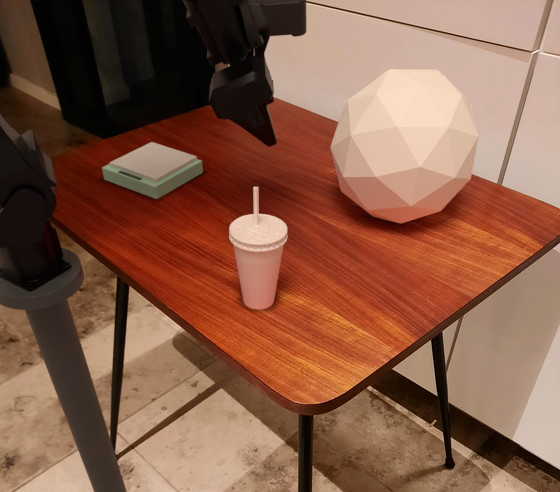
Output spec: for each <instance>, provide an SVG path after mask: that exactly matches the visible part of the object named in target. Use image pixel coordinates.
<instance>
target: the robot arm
mask: <svg viewBox="0 0 560 492" xmlns="http://www.w3.org/2000/svg"><path fill="white" fill-rule="evenodd" d="M182 2H183V3H184V6H185V7H186V9H187V11H186V21H187V23H188V25H189V26H190V28H191V29H193V28H196V29H197V31H198V33H199V35H200V37H201V40H202V42H203V44H204V45H205V48H206V49H207V50H206V60H207V62H208V64H209V65H210V67H211V68H213V67H215V66H217V65H219V64H221V63H222V65H225V66H226V67H223V68H222V69H220V70H218V71H216V72H214V73H213V74H212V77H211V81H210V83H209V94H208V104H209V105H210V107H211V109H212V111H213V113H214V114H215V116H216V118H217V119H219V120H226V121H227V120H229V121H231V122H232V123H234V124H235V125H237V126H238V127H240V128H242V129H243V130H245V131H246V132H247V133H248V134H250V135H251V136H253V137H254V138H256V139H257V140H258V141H260V142H261V143H262V144H263V145H265V146H267V147H272V146H275V145H277V143H278V141H277V136H276V132H275V127H274V124H273V120H272V117H271V112H270V109H269V105H270V104H273V103H274V102H275V99H274V94H275V90H274V88H275V87H274V80H273V78H272V75H271V71H270V69H269V67H268V64H267V60H266V55H265V53H266V50H267V47H268V44H269V41H270V39H271V37H277V36H278V37H280V36H292V37H296V38H297V37H302V36H304V35H305V34H307V0H182ZM227 65H228V66H227ZM55 175H56V174H55V171H54V165H53V161H52V158H50V157H49V156H48V155H47V154H45V153H44V151H43V149H42V148H41V147H40V145H39V142H38V140H37V138H36V135H35V133H34V130H33V129H31V128H30V129H28V130H26V131H25V132H23V133H22V134H20V133H19V132H17V131H16V130H15V129H14V128H13V127H12V126H11V125H10V124H9V123H8V122H7V121H6V120H5V118H4V117H3V116H2V114H1V113H0V277H1V278H3V279H5V280H7V281H9V282H11V283H13V284H14V285H16V286H18V287H20V288H22V289H24V290H26V291H28V292H31V291H34V290H36V289H37V288H39V287H41V286H42V285H44V284H46V283H47V282H49V281H50V280H52V279H54V278H55V277H57V276H59V275H60V274H62V273H64V272H65V271H67V270H69V269H70V268H71V267H72V266H71V263H70V262H68V261H65V260H63V259H62V258H63V252H62V248H63V247H62V245H61V242H60V238H59V234H58V232H57V228H56V227H55V226H53V225H52V222H51V219H50V218H51V217H52V215H53V214H54V213H55V210H56V207H57V204H58V203H57V202H58V201H57V196H56V191H55V188H56V187H57V180H56V179H57V178H56V176H55Z"/></svg>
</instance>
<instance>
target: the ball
mask: <svg viewBox="0 0 560 492" xmlns="http://www.w3.org/2000/svg"><path fill="white" fill-rule="evenodd" d="M478 140H479V133H478V129H477V124H476V119H475V114H474V110H473V105H472V101H471V100H469V98H468V97H466V95H464V94H463V93H462V91H461V90H460V89H458V88H457V86H456V85H454V83H452V82H451V80H449V79H448V78H447V77H446V76H445V75H444V74H443V73H442V72H441V71H440V70H439V69H412V68H411V69H407V68H405V69H404V68H389V69H388V70H386V71H385V72H384V73H382V74H381V75H380V76H378V77H377V78H375V79H374V80H373V81H372V82H370V83H369V84H367V85H366V86H364V87H363V88H362V89H361V90H360V91H358V92H357V93H355V94H354V95H352V96H351V97H350V98H349V99H348V100H347V102H346V103H345V106H344V108H343V110H342V112H341V115H340V117H339V119H338V122H337V124H336V128H335V132H334V134H333V136H332V141H331V144H330V152H331V157H332V161H333V164H334V168H335V173H336V178H337V181H338V186H339V189H340V192H341V193H342V194H344V196H346V197H347V198H349V199H350V200H351V201H353V202H354V203H355V204H356V205H357V206H358V207H360V208H361V209H363V210H364V211H365V212H366V213H368V214H369V215H370V216H372V217H373V218H376V219H380V220H384V221H389V222H393V223H397V224H404V223H407V222H410V221H413V220H418V219H420V218H423V217H427V216H429V215H432V214H435V213H440V212H441V211H442V210H444V209H445V207H446V206H447V205H448V204H449V203H450V202H451V200H452V199H454V198H455V197H456V195H457V194H458V193H459V192H460V191H461V190H462V189H463V188H464V187H465V186H466V184H468V183H469V182H470V180H471V179H472V173H473V168H474V164H475V163H474V162H475V157H476V153H477V147H478Z"/></svg>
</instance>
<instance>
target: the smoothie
mask: <svg viewBox="0 0 560 492" xmlns="http://www.w3.org/2000/svg"><path fill="white" fill-rule="evenodd" d="M259 193H260V189H259V186H253V187H252V194H253V195H252V196H253V198H252V199H253V200H252V201H253V205H252V206H253V208H252V210H253V213H249V214H245V215H241V216H239V217H238V218H236V219H234V220H233V221H232V222H231V223H230V225H229V227H228V231H229V232H228V233H229V234H228V239H229V241H230V243H231V244H232V246H233V252H234V257H235V263H236V267H237V268H236V269H237V274H238V279H239V284H240V290H241V296H242V300H243V304H244V306H246V307H248V308H249V309H251V310H252V309H253V310H257V311H258V310H266V309H269V308H271V306H273V304H274V302H275V297H276V292H277V286H278V280H279V274H280V268H281V263H282V256H283V250H284V245H285V244H286V242H287V241H288V238H289V235H288V226H287V223H286V222H284V221H283V220H282V219H280V218H278V217H277V216H275V215H271V214H265V213H260V205H259V203H260V197H259V196H260V194H259Z"/></svg>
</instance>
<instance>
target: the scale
mask: <svg viewBox="0 0 560 492" xmlns="http://www.w3.org/2000/svg"><path fill="white" fill-rule="evenodd" d="M101 170H102V171H101V172H102V175H103V180H104V181H106V182H108V183H109V182H110V183H112V184H115V185H117V186H120V187H122V188H126V189H128V190H131V191H134V192H136V193H139V194H142V195H144V196H147V197H149V198H152V199H155V200H159V199H160V198H162V197H164V196H166V195H167V194H169V193H170V192H172V191H174V190H175V189H177V188H179V187H180V186H183V185H184V184H186V183H188V182H189V181H191V180H193V179H195V178H196V177H198V176H200V175H202V174H203V173H204V168H203V160H202V159H198V156H197V155H194V154H190V153H188V152H184V151H182V150H178V149H175V148H172V147H169V146H167V145H163V144H159V143H157V142H153V141H151V142H148V143H147V144H144V145H142V146H141V147H138V148H136V149H135V150H132V151H130V152H128V153H126V154H124V155H121V156H120V157H118V158H116V159H113V160H112V161H109V163H108V164H106V165H104V166H102V167H101Z"/></svg>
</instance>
